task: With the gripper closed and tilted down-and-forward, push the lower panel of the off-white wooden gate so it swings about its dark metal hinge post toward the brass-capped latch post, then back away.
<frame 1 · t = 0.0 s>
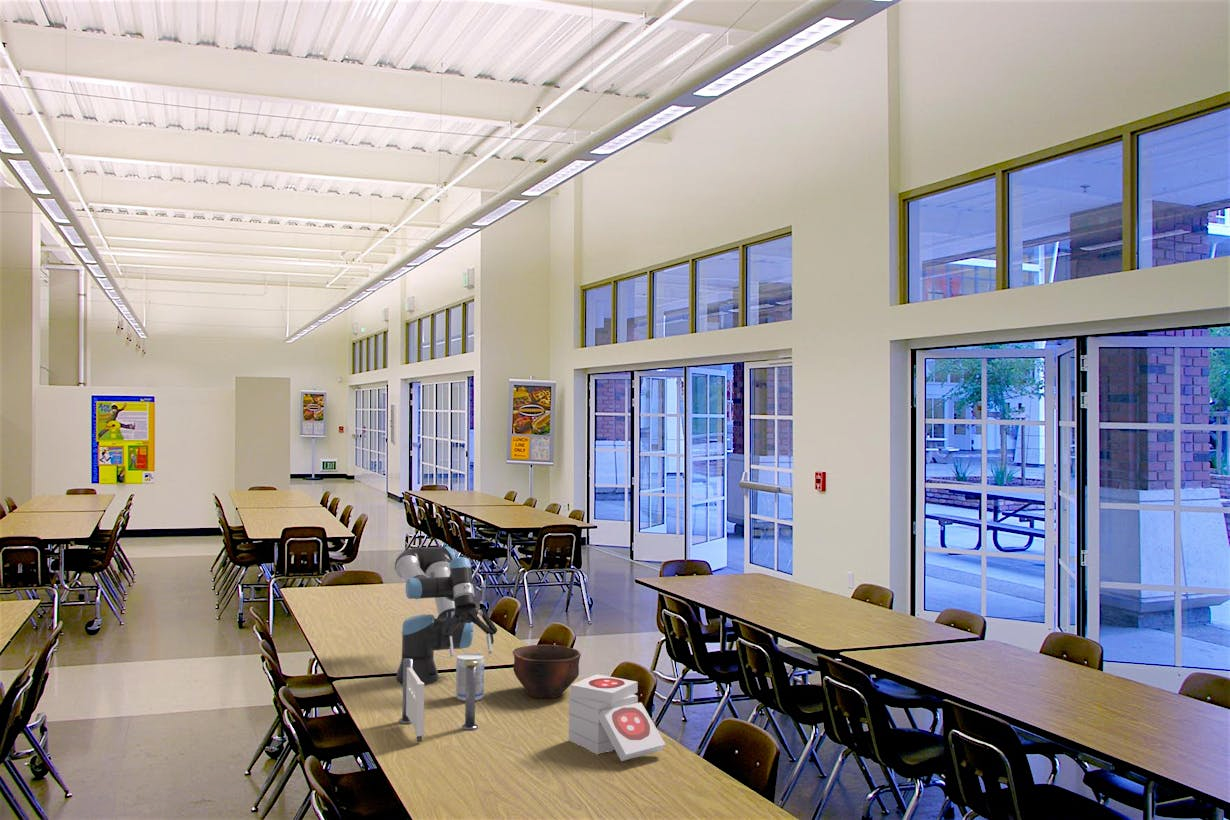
hand: (471, 654, 332), 15 cm above the table, tool tilted 35°, fingers open, 13 cm apart
hinge post: (406, 721, 305), on the table
supplement tub: (469, 698, 332), on the table
bowl: (546, 694, 339), on the table
gate: (414, 703, 293), point 9 cm above the table, hinge at 0.0°
latch post: (469, 727, 300), on the table
pizza boxes: (614, 748, 284), on the table
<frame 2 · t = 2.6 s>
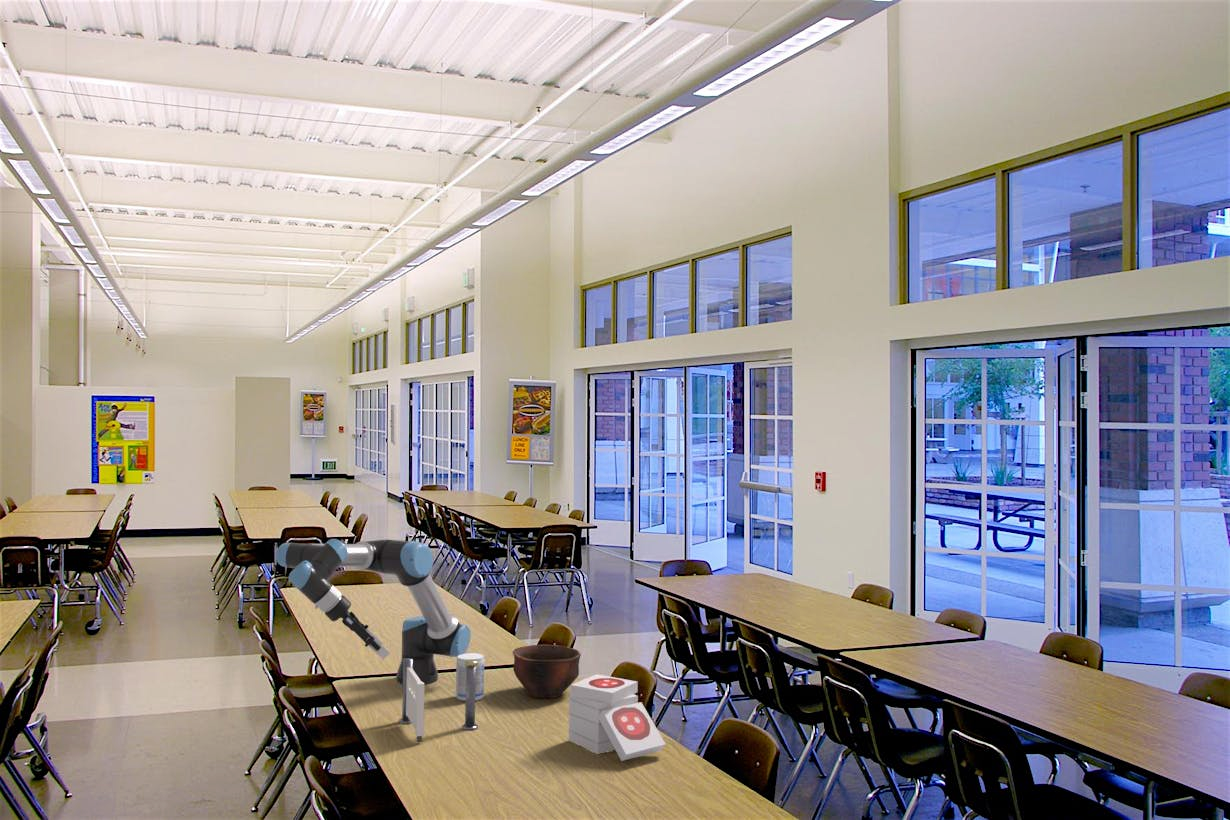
hand: (382, 651, 289), 26 cm above the table, tool tilted 45°, fingers open, 13 cm apart
nothing on the table moved.
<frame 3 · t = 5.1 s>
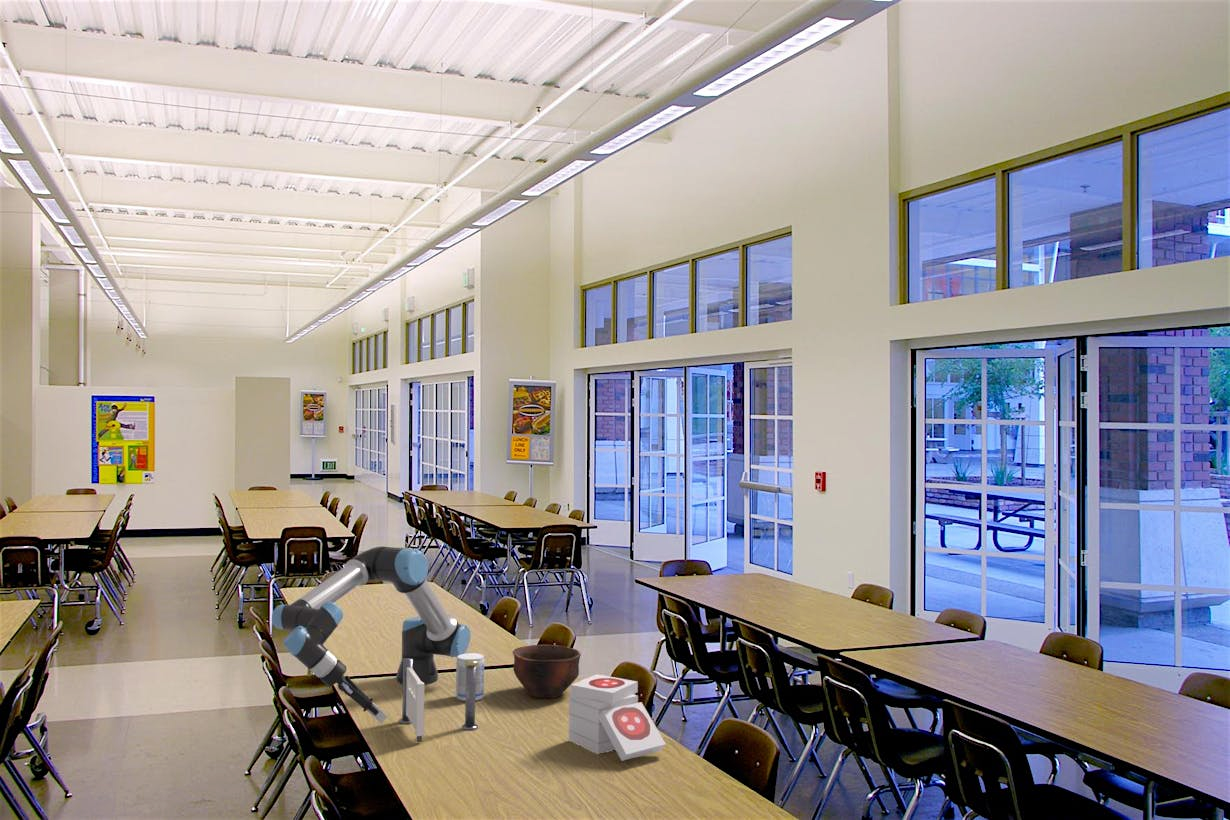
hand: (384, 719, 289), 6 cm above the table, tool tilted 45°, fingers closed
nothing on the table moved.
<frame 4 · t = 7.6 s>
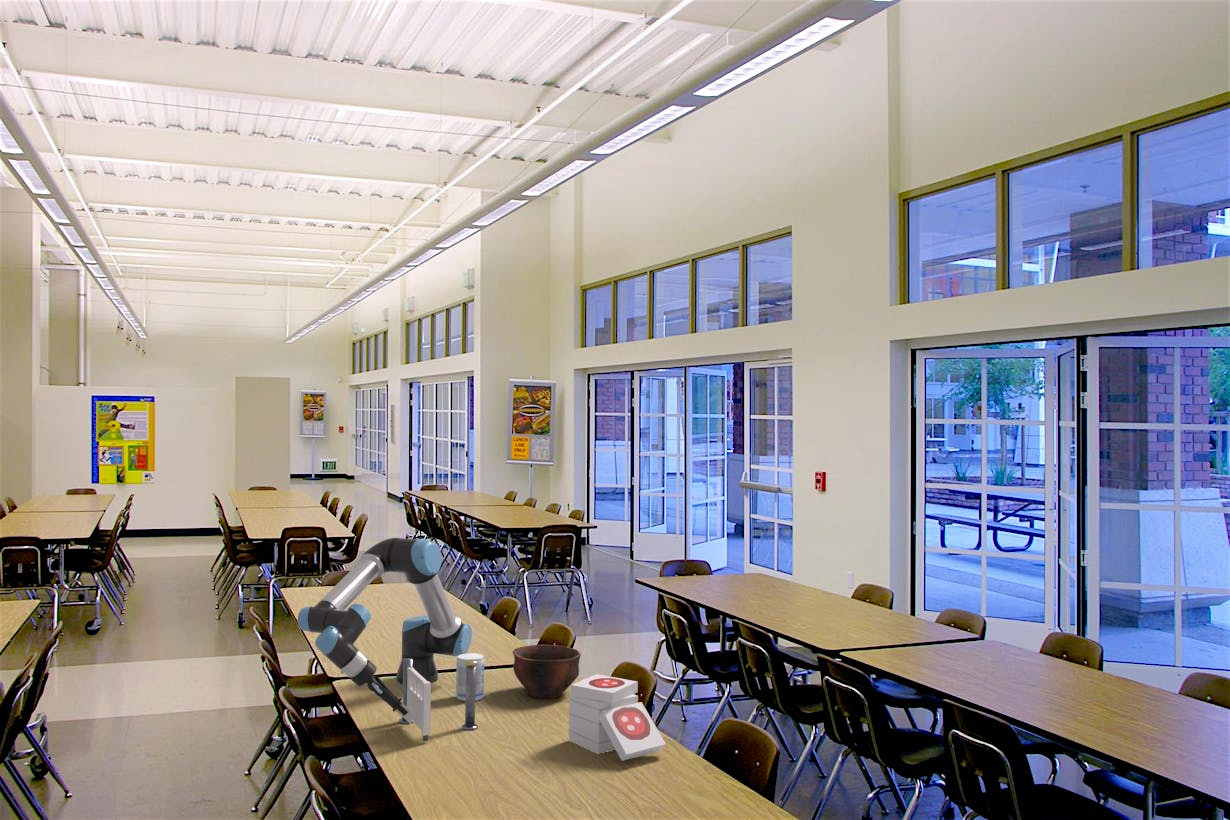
hand: (412, 719, 292), 5 cm above the table, tool tilted 45°, fingers closed
gate: (418, 703, 294), point 9 cm above the table, hinge at 5.1°, touching gripper
everything else where it was.
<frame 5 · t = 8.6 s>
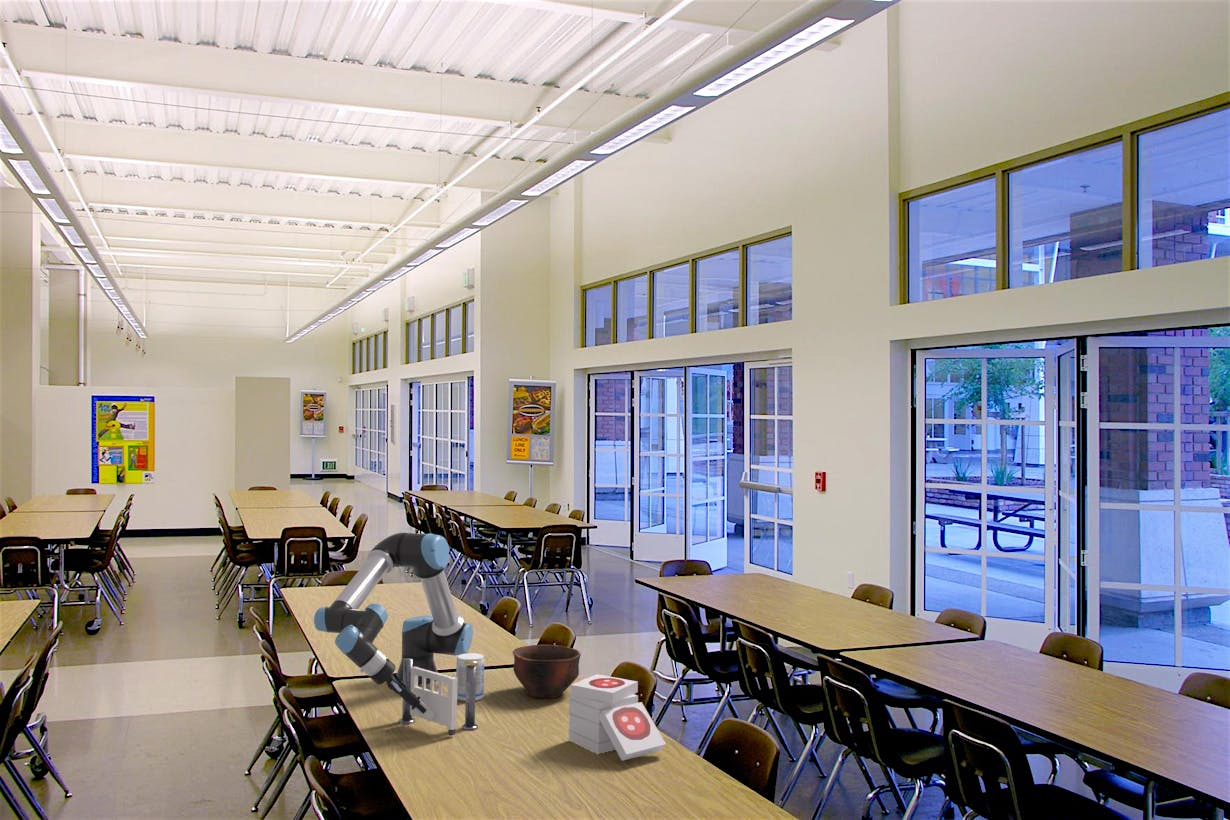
hand: (431, 717, 294), 5 cm above the table, tool tilted 45°, fingers closed
gate: (433, 700, 297), point 9 cm above the table, hinge at 28.9°, touching gripper
everything else where it was.
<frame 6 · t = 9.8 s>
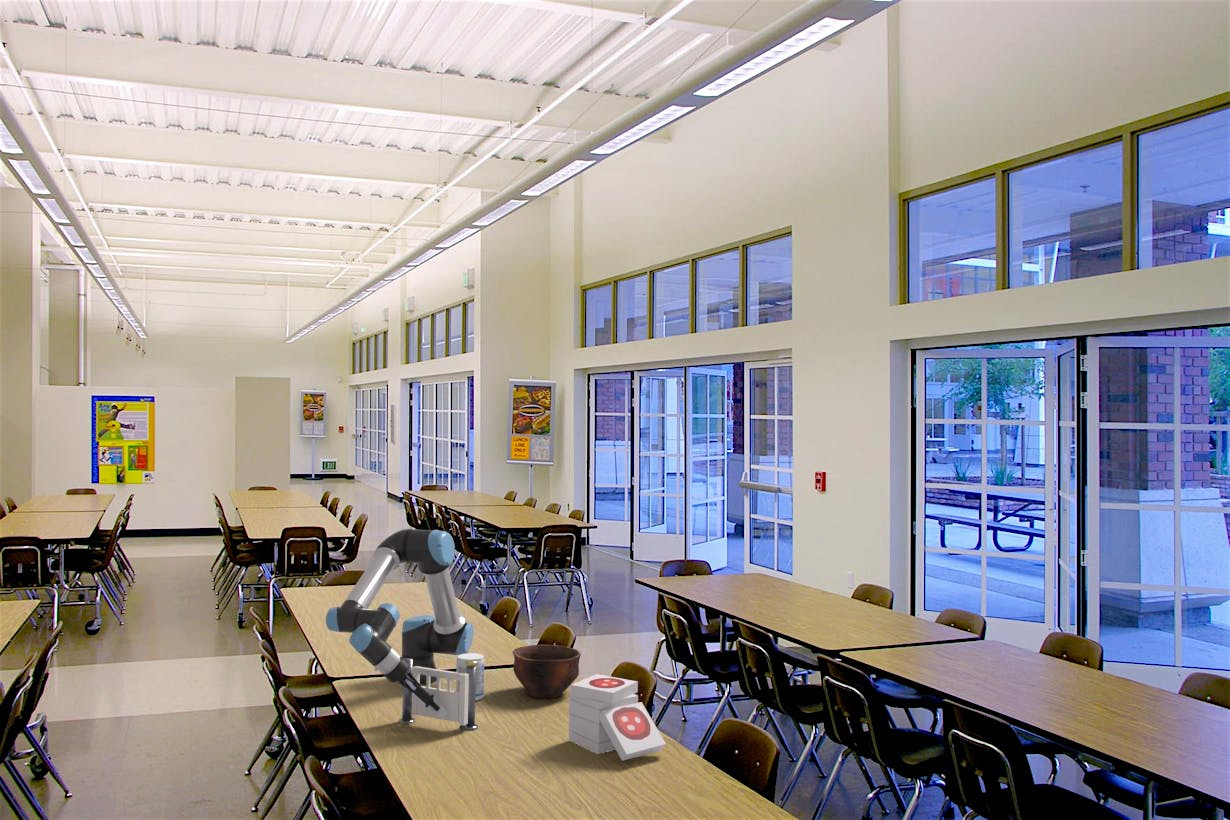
hand: (444, 715, 296), 5 cm above the table, tool tilted 45°, fingers closed
gate: (439, 698, 300), point 9 cm above the table, hinge at 43.0°, touching gripper
everything else where it was.
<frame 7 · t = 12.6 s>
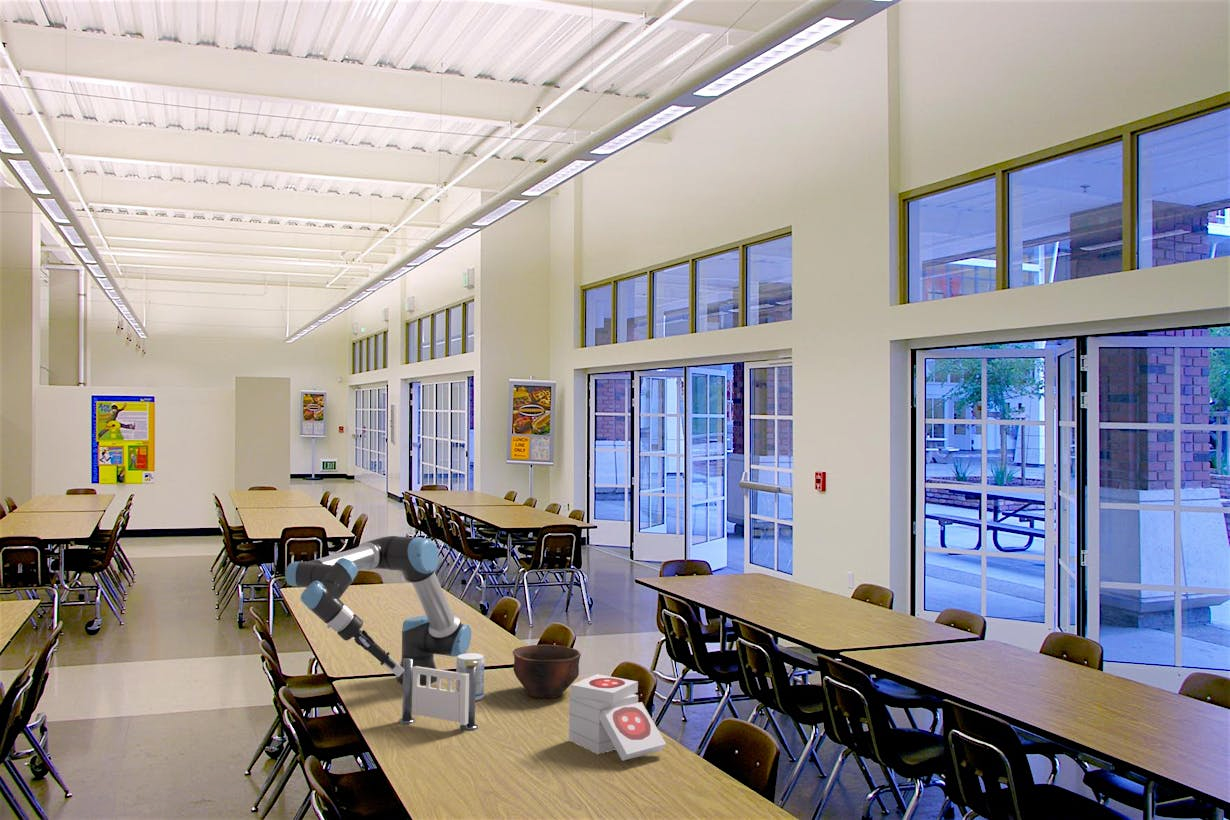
hand: (401, 673, 291), 19 cm above the table, tool tilted 45°, fingers closed
gate: (440, 698, 300), point 9 cm above the table, hinge at 43.7°
everything else where it was.
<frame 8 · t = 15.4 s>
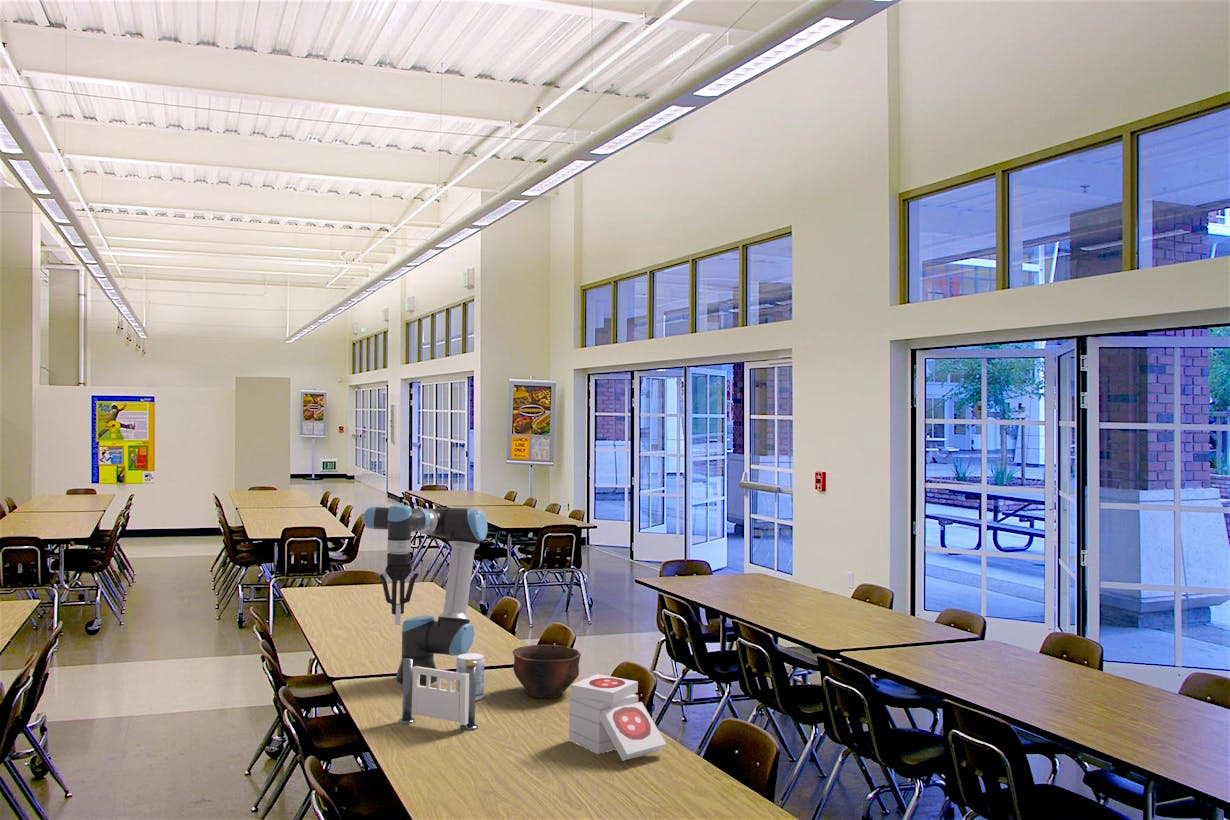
hand: (397, 623, 314), 29 cm above the table, tool pointing down, fingers closed
nothing on the table moved.
at the end: gate at +44° (first picture: +0°) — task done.
